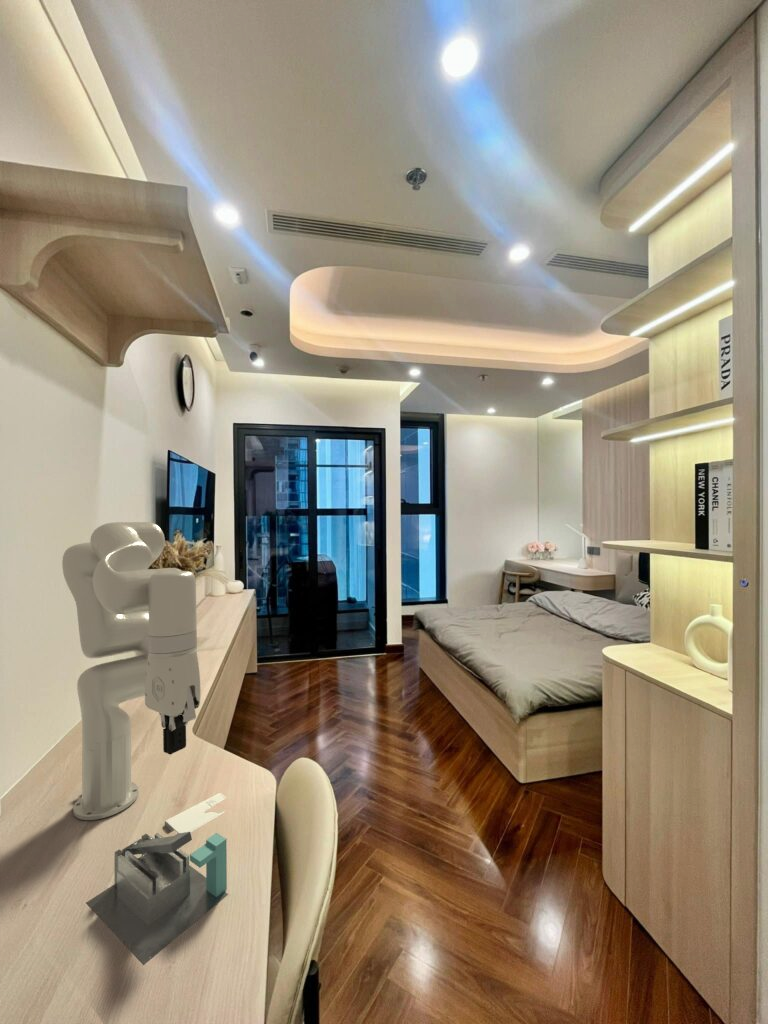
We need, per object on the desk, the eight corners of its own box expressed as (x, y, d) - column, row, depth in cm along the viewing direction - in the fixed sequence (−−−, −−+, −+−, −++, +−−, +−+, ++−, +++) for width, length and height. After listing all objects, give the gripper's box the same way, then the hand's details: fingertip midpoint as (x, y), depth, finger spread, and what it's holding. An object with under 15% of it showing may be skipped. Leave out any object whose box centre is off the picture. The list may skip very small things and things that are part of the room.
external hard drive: (164, 827, 92) (219, 798, 102) (183, 845, 87) (238, 813, 96) (164, 820, 92) (219, 791, 102) (183, 837, 87) (238, 805, 96)
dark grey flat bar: (122, 858, 76) (120, 849, 77) (140, 847, 79) (139, 838, 79) (173, 853, 68) (170, 843, 68) (192, 840, 70) (190, 830, 71)
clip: (190, 902, 72) (189, 850, 72) (216, 881, 76) (216, 832, 76) (200, 910, 70) (199, 857, 71) (226, 889, 75) (226, 839, 75)
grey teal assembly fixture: (86, 908, 72) (86, 863, 72) (168, 854, 84) (168, 815, 84) (143, 971, 62) (143, 918, 62) (228, 900, 73) (228, 855, 74)
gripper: (129, 642, 77) (130, 748, 76) (177, 653, 69) (179, 772, 68) (170, 633, 83) (171, 731, 83) (218, 642, 75) (220, 751, 74)
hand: (175, 749), depth 75 cm, fingers closed
